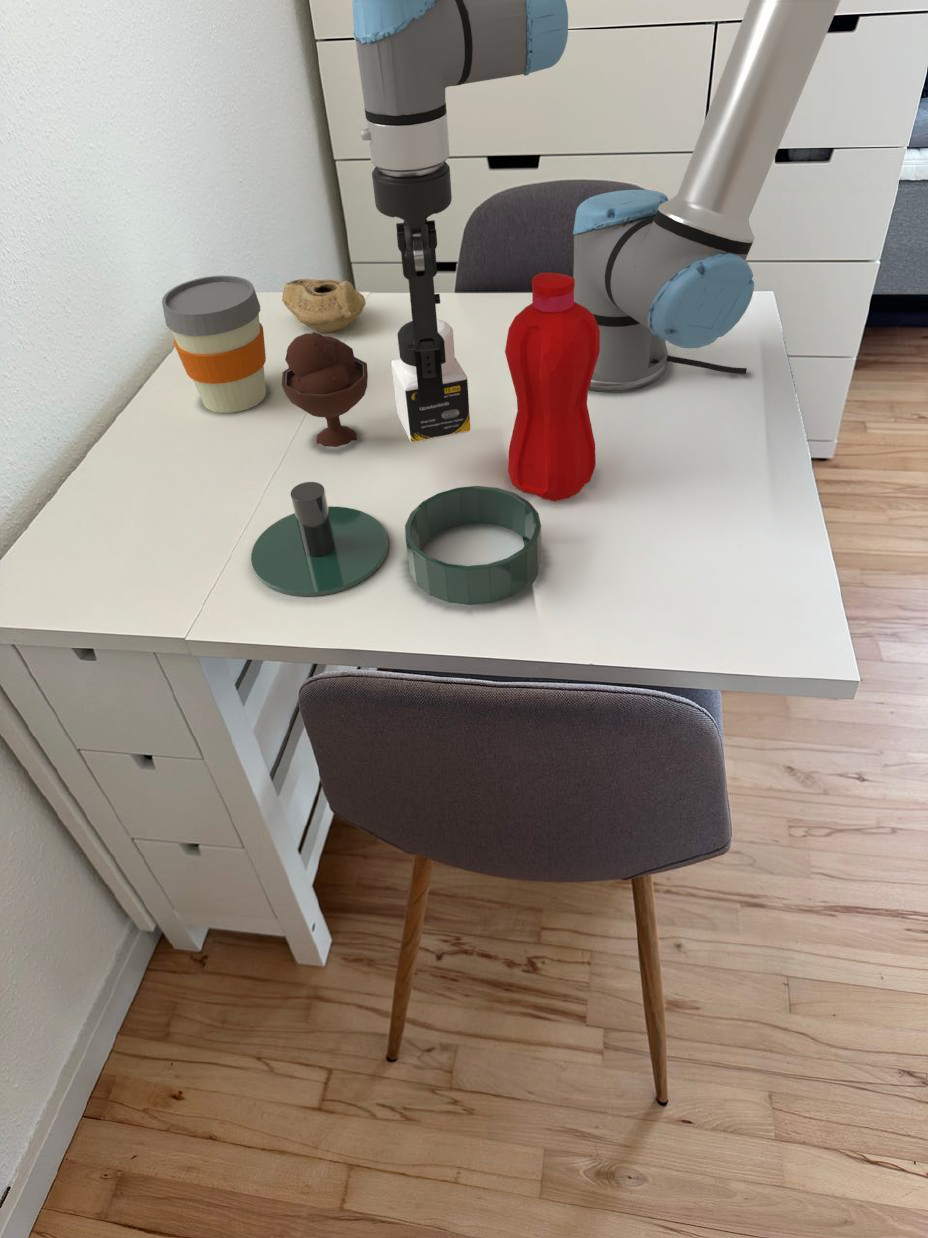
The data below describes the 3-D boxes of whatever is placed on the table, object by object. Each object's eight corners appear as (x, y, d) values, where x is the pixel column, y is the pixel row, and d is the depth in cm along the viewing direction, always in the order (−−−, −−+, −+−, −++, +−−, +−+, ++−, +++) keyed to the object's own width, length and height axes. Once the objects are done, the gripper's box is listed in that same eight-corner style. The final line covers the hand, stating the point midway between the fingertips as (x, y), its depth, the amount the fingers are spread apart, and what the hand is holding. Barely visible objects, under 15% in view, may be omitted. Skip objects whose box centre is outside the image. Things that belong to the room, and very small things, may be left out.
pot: (531, 519, 104) (531, 480, 100) (549, 601, 93) (549, 561, 90) (408, 530, 103) (403, 492, 100) (412, 614, 93) (406, 575, 89)
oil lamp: (301, 304, 150) (292, 256, 145) (381, 314, 145) (375, 265, 140) (266, 333, 143) (255, 283, 137) (350, 345, 138) (342, 294, 133)
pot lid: (388, 509, 107) (378, 445, 101) (389, 593, 96) (379, 528, 90) (259, 520, 107) (243, 458, 101) (246, 607, 95) (226, 542, 89)
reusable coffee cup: (173, 413, 126) (140, 310, 116) (218, 371, 135) (192, 271, 124) (252, 424, 123) (226, 319, 112) (293, 380, 131) (272, 278, 121)
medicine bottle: (411, 444, 102) (400, 346, 94) (396, 414, 107) (385, 318, 99) (471, 432, 103) (465, 333, 95) (454, 402, 109) (447, 306, 100)
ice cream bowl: (366, 464, 114) (348, 354, 104) (283, 459, 116) (257, 350, 106) (387, 420, 121) (373, 313, 111) (309, 416, 123) (288, 311, 113)
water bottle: (610, 465, 111) (623, 261, 93) (566, 512, 104) (570, 302, 87) (545, 445, 115) (545, 246, 97) (498, 489, 108) (490, 285, 91)
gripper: (371, 135, 94) (395, 341, 109) (370, 204, 78) (398, 432, 94) (443, 129, 94) (456, 336, 109) (456, 197, 79) (470, 426, 94)
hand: (429, 380), depth 102 cm, fingers closed on medicine bottle, 8 cm apart
